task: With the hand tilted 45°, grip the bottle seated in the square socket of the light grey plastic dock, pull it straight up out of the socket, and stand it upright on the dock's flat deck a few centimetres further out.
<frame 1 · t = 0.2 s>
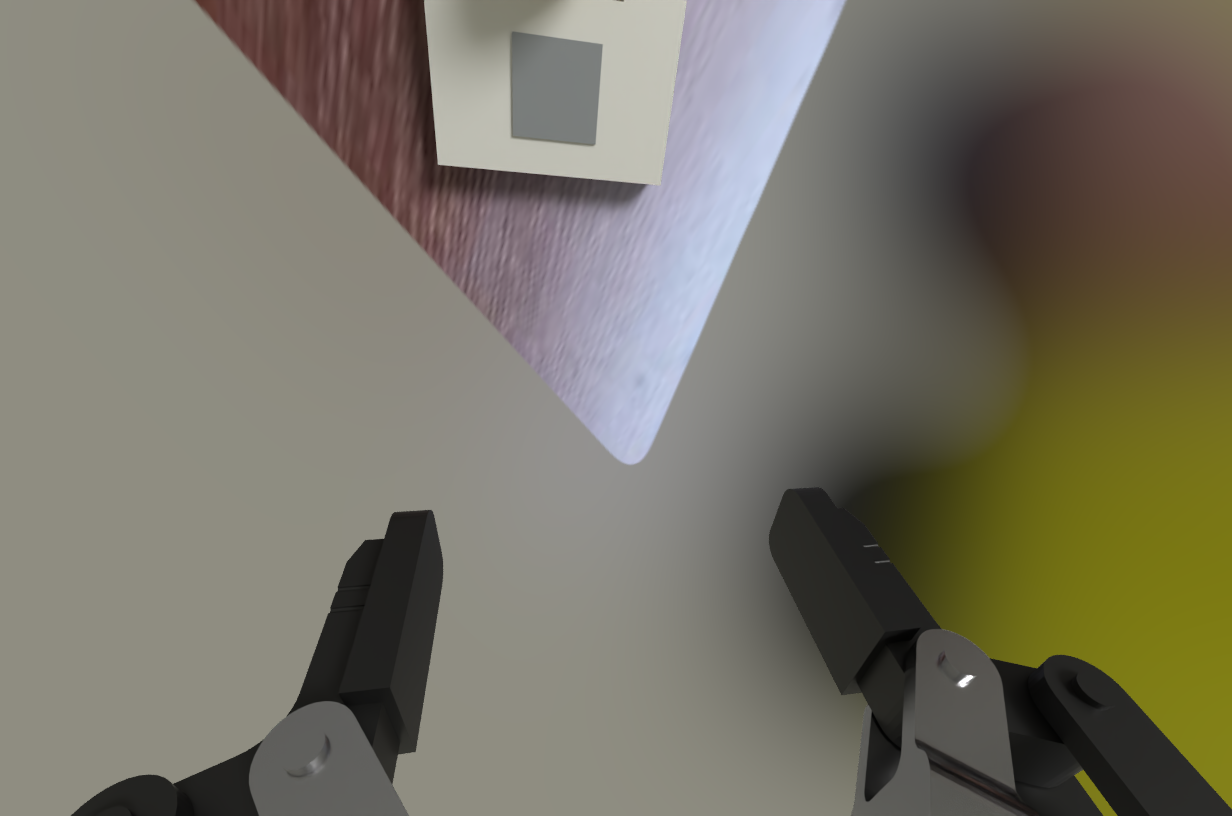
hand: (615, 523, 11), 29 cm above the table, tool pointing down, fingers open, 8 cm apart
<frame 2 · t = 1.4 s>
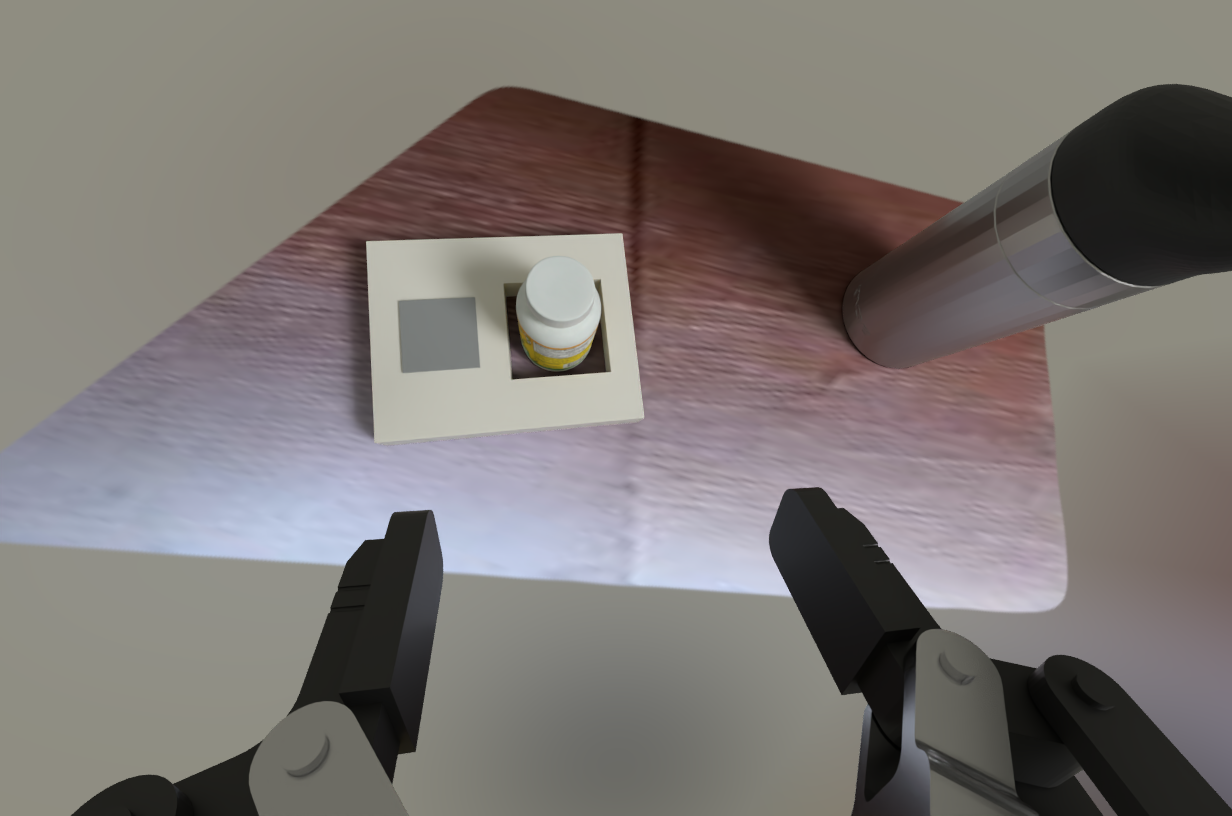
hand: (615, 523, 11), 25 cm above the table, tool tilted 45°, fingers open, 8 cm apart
socket dock: (509, 341, 36), on the table
supplement bottle: (556, 339, 37), resting in socket dock
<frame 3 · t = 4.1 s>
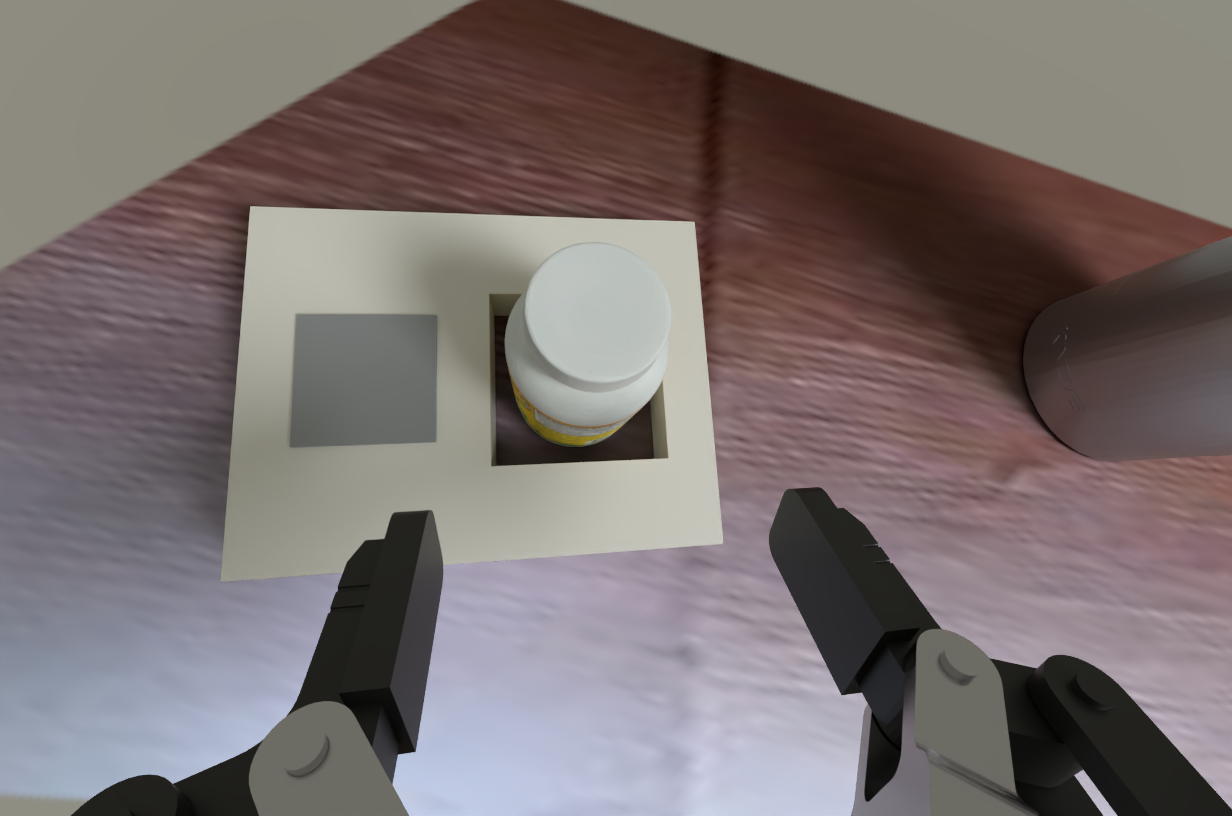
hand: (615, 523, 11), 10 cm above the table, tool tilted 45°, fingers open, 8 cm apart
socket dock: (495, 390, 22), on the table
supplement bottle: (573, 390, 22), resting in socket dock
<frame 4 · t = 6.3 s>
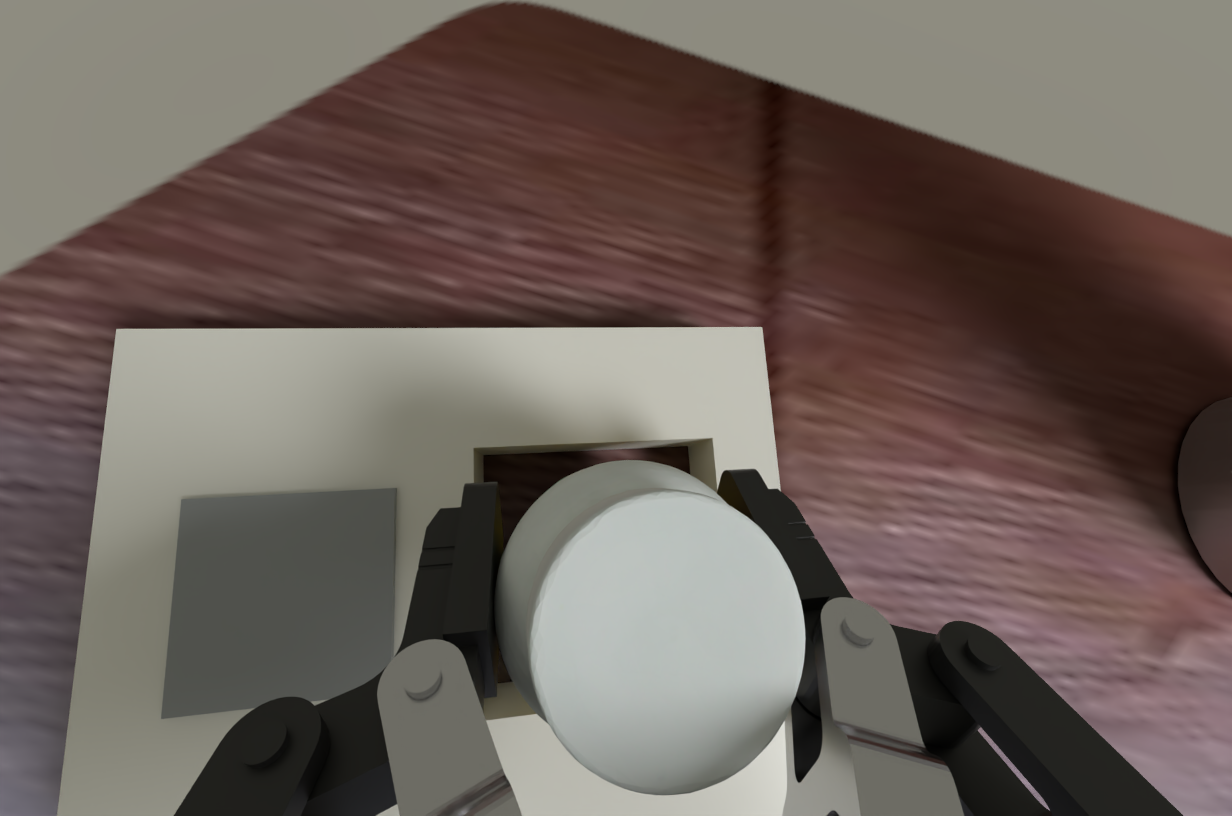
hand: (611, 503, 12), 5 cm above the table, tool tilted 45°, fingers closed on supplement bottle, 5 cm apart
socket dock: (484, 565, 15), on the table
supplement bottle: (593, 556, 16), resting in socket dock, touching gripper
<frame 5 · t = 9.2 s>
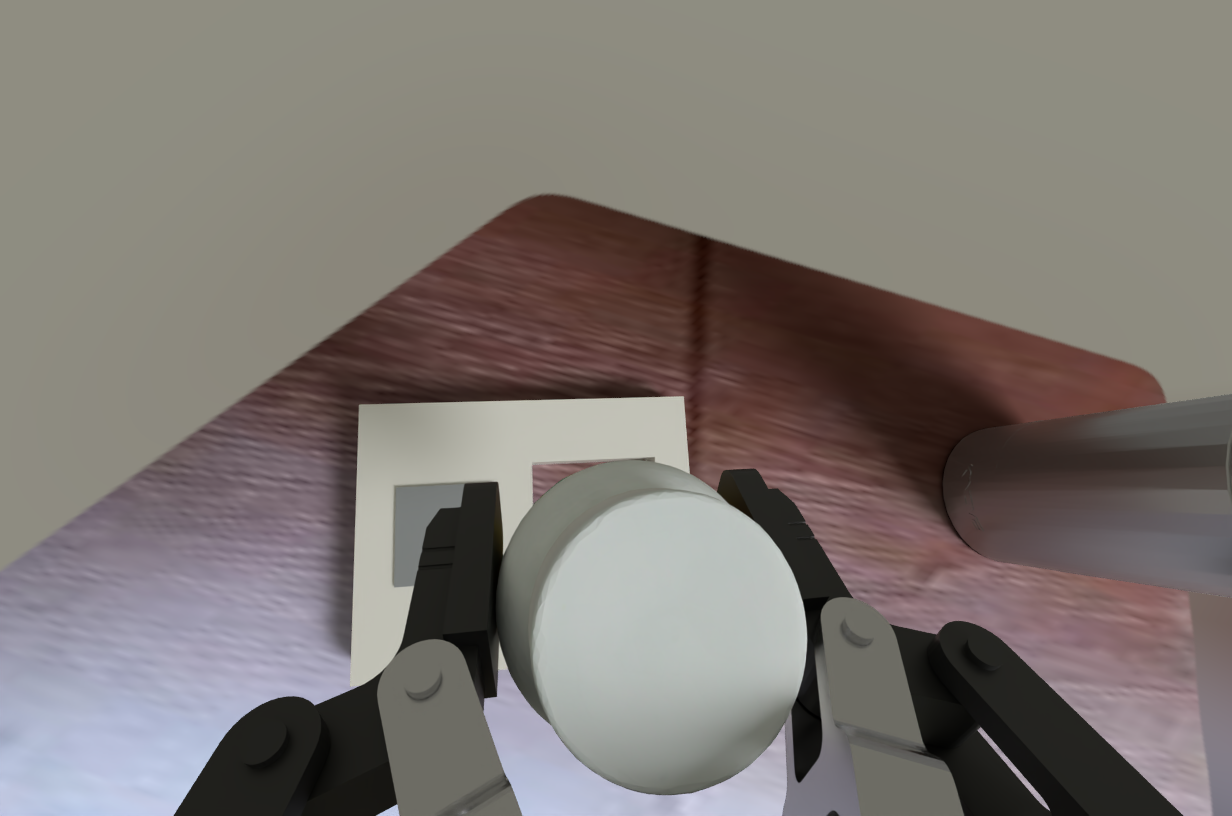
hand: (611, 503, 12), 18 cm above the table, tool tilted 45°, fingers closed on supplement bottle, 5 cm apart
socket dock: (533, 524, 29), on the table
supplement bottle: (594, 555, 16), point 13 cm above the table, touching gripper
when the fingers open (8 cm above the table, at t = 12.4 s): supplement bottle drops 1 cm, resting on socket dock.
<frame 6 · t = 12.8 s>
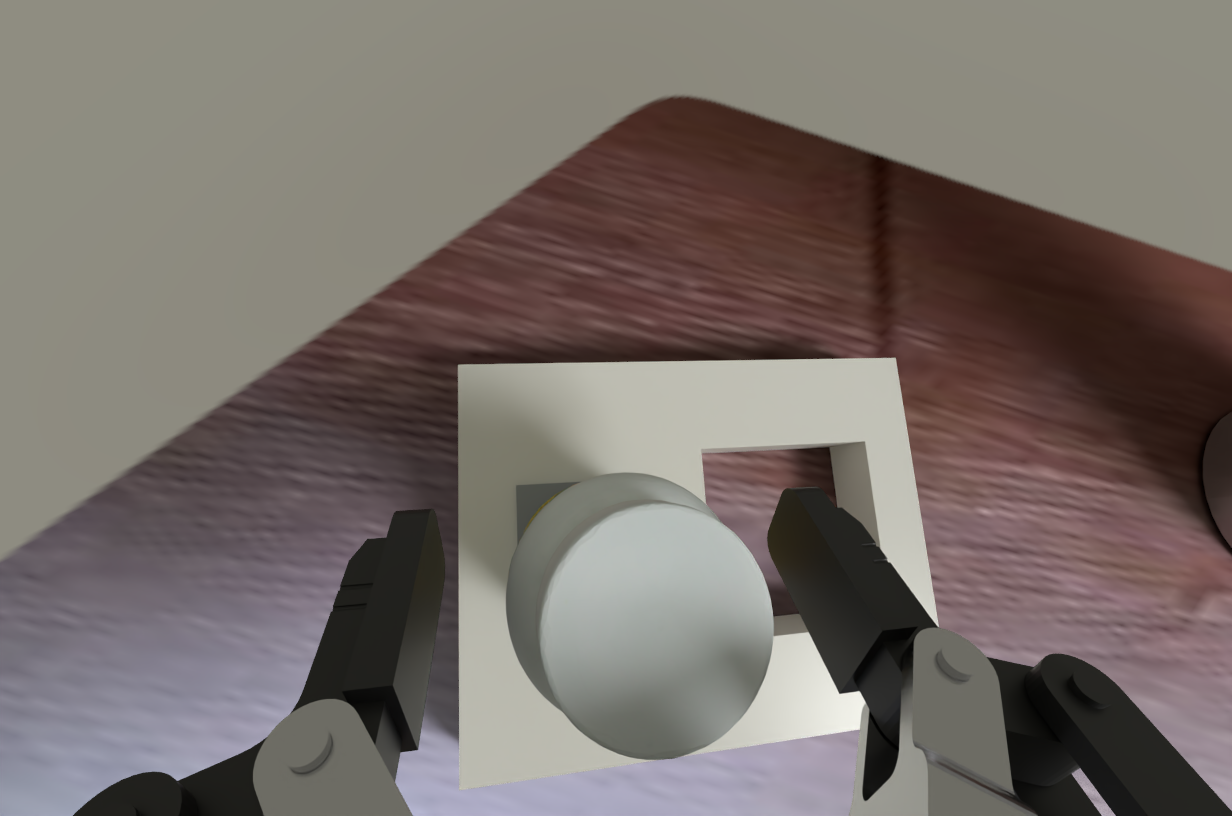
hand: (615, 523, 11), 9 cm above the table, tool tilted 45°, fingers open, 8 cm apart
socket dock: (689, 537, 21), on the table
supplement bottle: (593, 557, 17), point 3 cm above the table, touching socket dock
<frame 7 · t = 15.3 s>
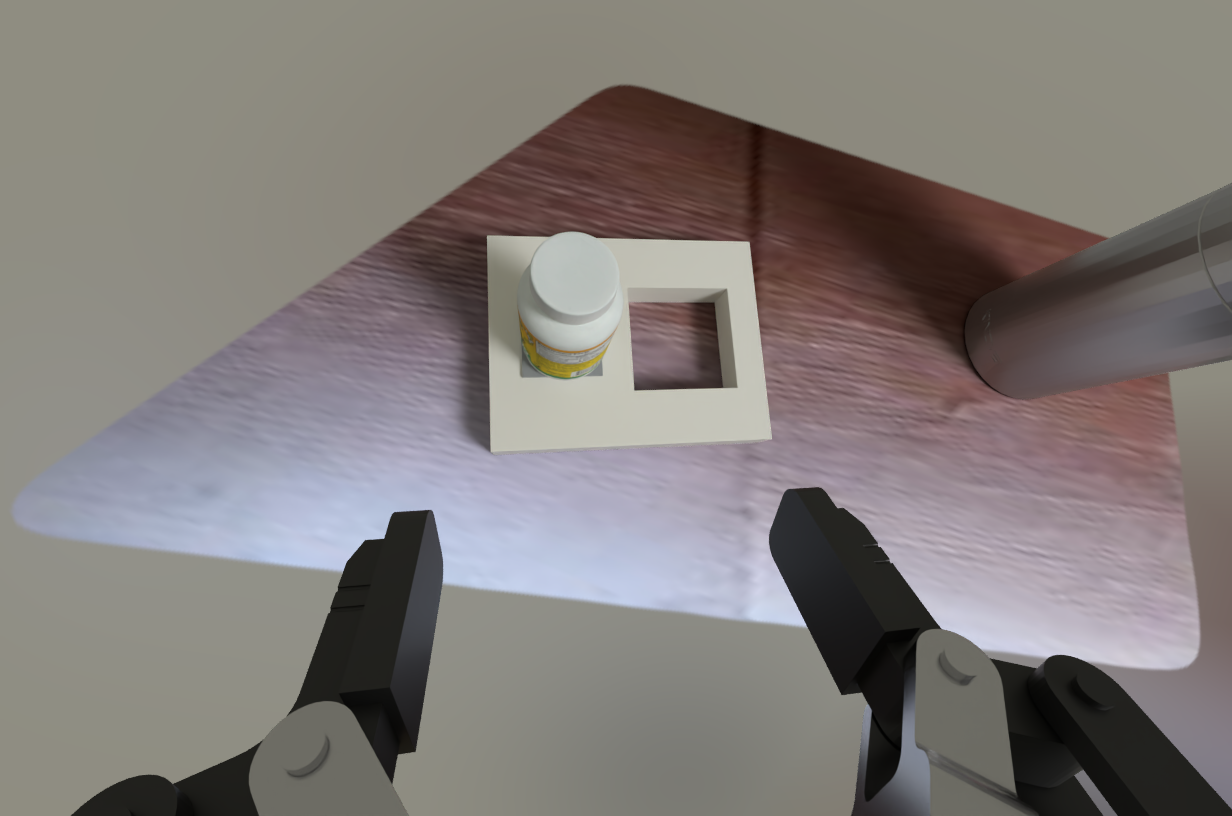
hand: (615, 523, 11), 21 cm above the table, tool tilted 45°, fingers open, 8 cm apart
socket dock: (624, 349, 34), on the table
supplement bottle: (564, 341, 31), point 3 cm above the table, touching socket dock
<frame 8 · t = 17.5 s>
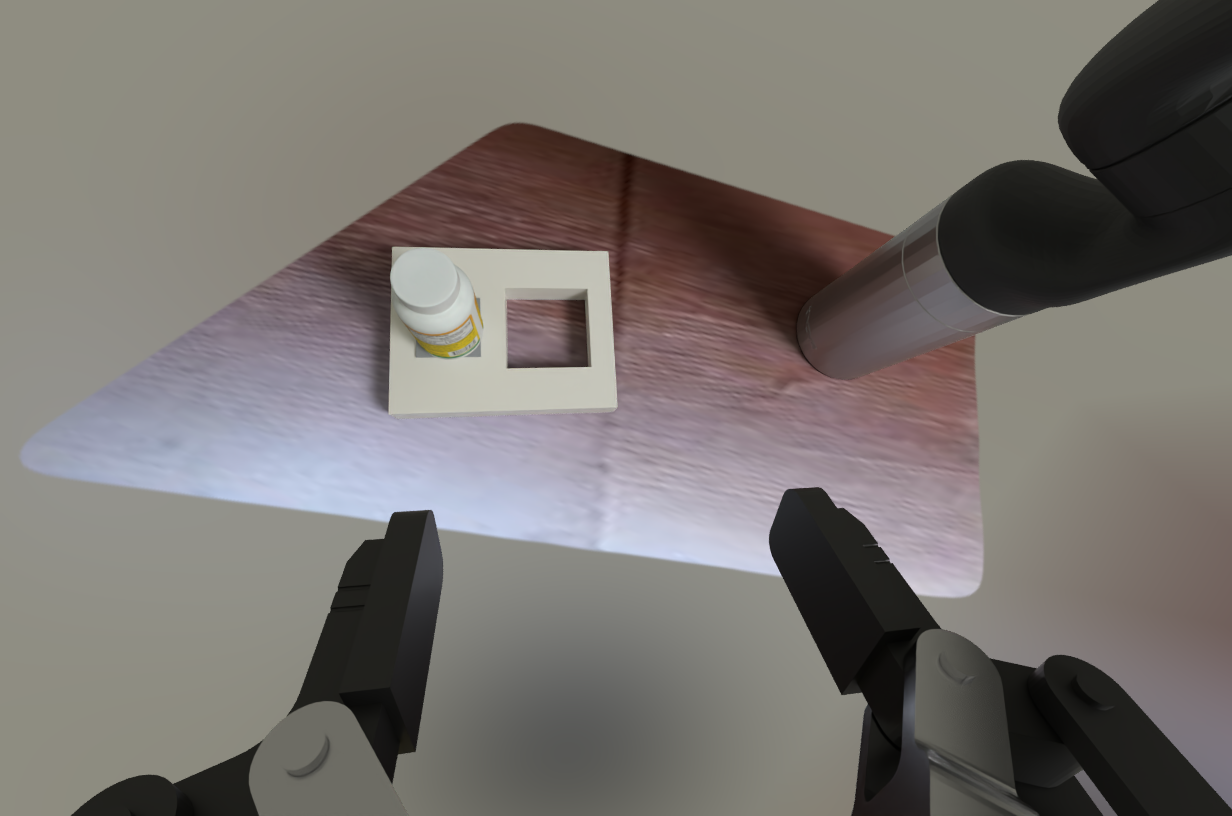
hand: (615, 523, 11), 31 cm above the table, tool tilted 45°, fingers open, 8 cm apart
socket dock: (507, 337, 43), on the table
supplement bottle: (451, 329, 40), point 3 cm above the table, touching socket dock
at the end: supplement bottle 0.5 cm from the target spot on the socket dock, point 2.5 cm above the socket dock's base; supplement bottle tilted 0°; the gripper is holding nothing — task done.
